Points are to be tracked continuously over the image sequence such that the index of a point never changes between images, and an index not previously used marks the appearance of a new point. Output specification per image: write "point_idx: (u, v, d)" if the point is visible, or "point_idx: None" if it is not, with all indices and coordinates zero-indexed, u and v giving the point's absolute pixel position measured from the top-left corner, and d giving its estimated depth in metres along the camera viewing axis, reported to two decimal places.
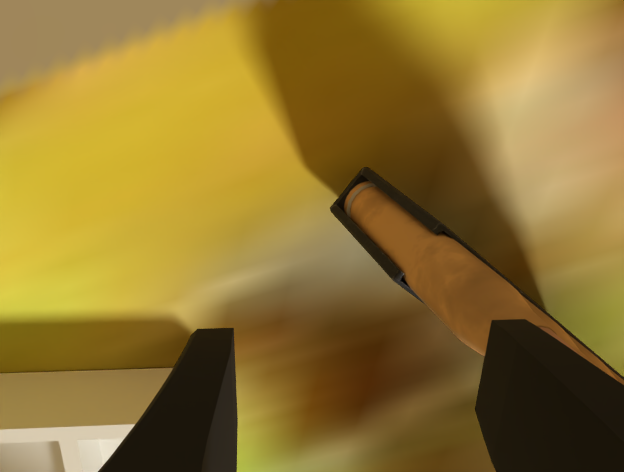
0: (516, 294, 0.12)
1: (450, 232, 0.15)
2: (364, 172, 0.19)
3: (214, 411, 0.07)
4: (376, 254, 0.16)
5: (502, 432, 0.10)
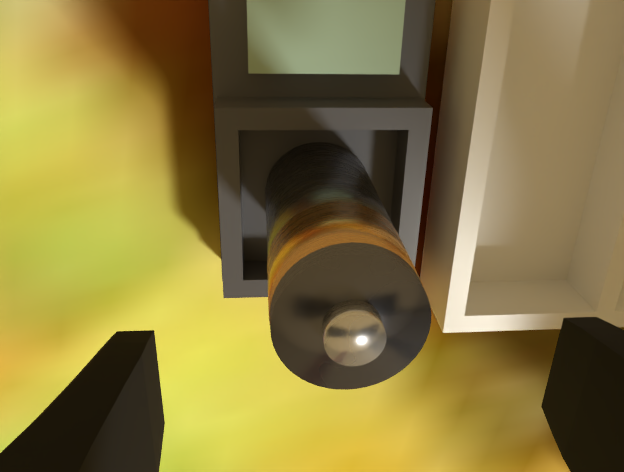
0: None
1: None
2: None
3: (107, 416, 0.07)
4: None
5: (576, 428, 0.10)
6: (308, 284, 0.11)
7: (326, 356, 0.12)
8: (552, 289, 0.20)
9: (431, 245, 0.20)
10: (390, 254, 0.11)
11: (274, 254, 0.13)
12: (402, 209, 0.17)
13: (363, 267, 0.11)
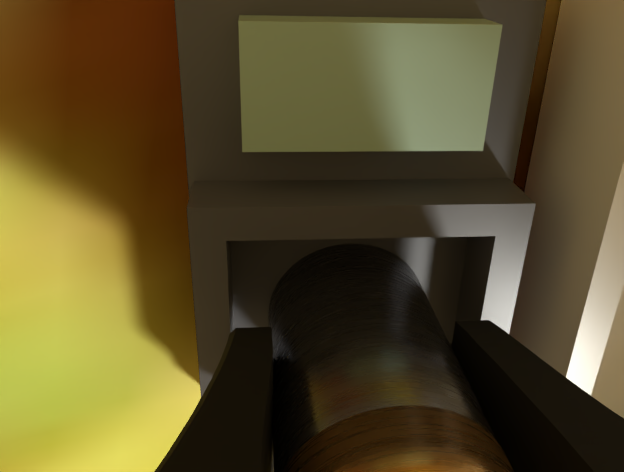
0: None
1: None
2: None
3: (264, 409, 0.07)
4: None
5: None
6: None
7: None
8: None
9: None
10: None
11: None
12: None
13: None
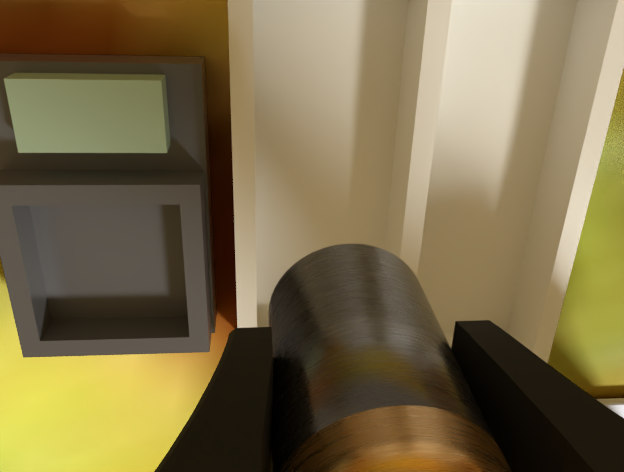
0: None
1: None
2: None
3: (264, 409, 0.07)
4: None
5: None
6: None
7: None
8: None
9: None
10: None
11: None
12: (186, 276, 0.18)
13: None
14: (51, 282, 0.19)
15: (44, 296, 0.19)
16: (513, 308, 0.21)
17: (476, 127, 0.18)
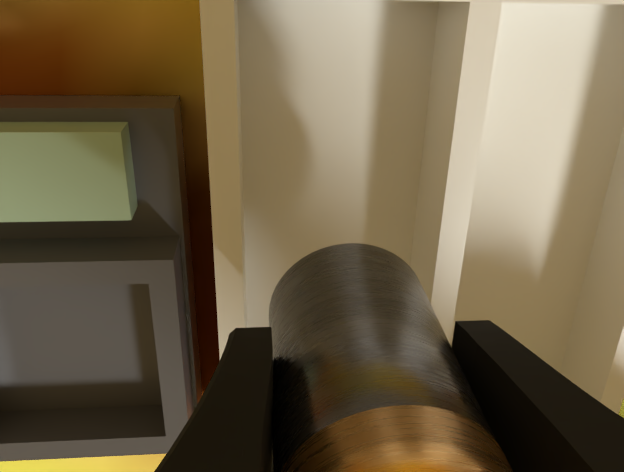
0: None
1: None
2: None
3: (264, 409, 0.07)
4: None
5: None
6: None
7: None
8: None
9: None
10: None
11: None
12: (159, 367, 0.14)
13: None
14: None
15: None
16: None
17: (518, 179, 0.15)
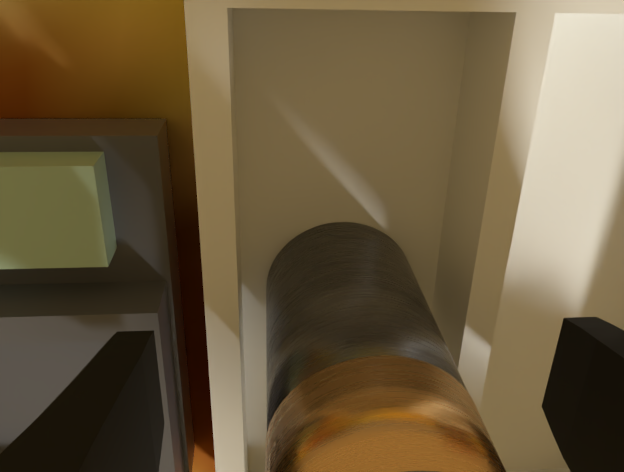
0: None
1: None
2: None
3: (107, 416, 0.07)
4: None
5: (576, 428, 0.10)
6: None
7: None
8: None
9: None
10: None
11: (278, 445, 0.08)
12: None
13: None
14: None
15: None
16: None
17: (557, 213, 0.13)
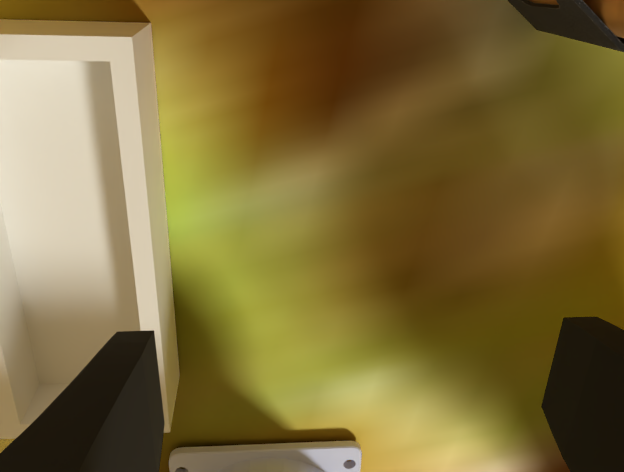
0: None
1: None
2: None
3: (107, 415, 0.07)
4: None
5: (577, 428, 0.10)
6: None
7: None
8: None
9: None
10: None
11: None
12: None
13: None
14: None
15: None
16: None
17: (60, 188, 0.18)
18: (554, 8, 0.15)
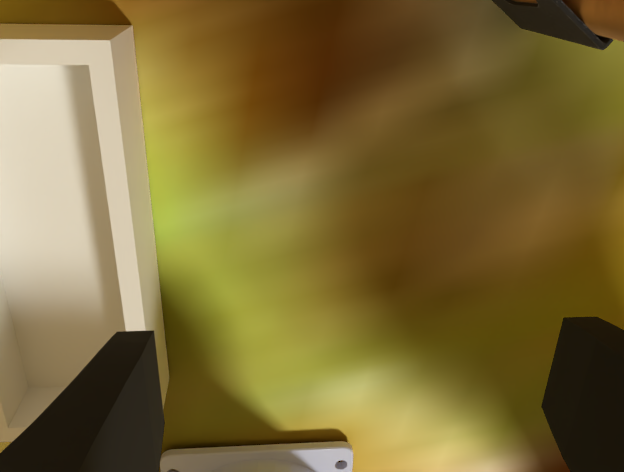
0: None
1: None
2: None
3: (107, 416, 0.07)
4: None
5: (576, 429, 0.10)
6: None
7: None
8: None
9: None
10: None
11: None
12: None
13: None
14: None
15: None
16: None
17: (45, 191, 0.18)
18: (534, 7, 0.15)
